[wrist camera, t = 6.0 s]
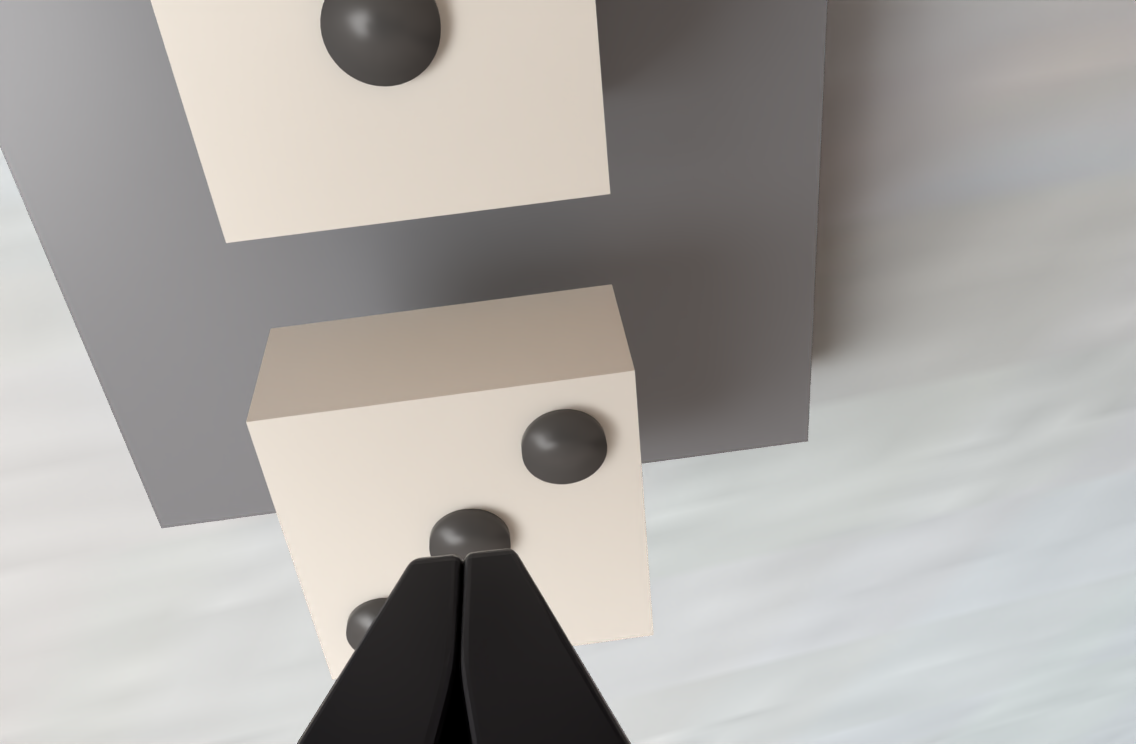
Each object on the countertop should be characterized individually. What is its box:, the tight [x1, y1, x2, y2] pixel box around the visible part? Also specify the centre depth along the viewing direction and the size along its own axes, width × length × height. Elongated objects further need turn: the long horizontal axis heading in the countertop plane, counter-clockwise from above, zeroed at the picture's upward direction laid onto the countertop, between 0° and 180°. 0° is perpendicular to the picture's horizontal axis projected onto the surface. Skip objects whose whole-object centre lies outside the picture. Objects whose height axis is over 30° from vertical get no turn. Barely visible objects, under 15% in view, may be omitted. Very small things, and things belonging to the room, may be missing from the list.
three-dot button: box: [246, 284, 653, 680], centre depth 14 cm, size 4×4×2 cm
